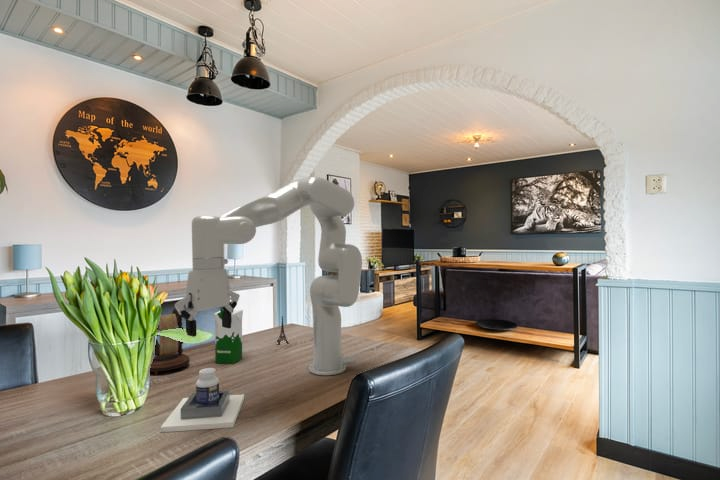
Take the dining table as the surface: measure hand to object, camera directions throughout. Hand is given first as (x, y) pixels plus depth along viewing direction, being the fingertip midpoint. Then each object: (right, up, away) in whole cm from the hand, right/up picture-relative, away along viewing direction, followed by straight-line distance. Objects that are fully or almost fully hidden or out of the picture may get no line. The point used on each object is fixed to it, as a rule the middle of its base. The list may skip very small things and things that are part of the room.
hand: (209, 331), depth 96 cm
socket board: (0, -21, -1) cm, 21 cm away
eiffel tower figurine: (+6, -21, +63) cm, 67 cm away
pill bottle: (0, -20, -1) cm, 20 cm away
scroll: (-28, -21, +33) cm, 49 cm away
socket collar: (0, -19, -1) cm, 19 cm away
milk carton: (-9, -21, +41) cm, 47 cm away
